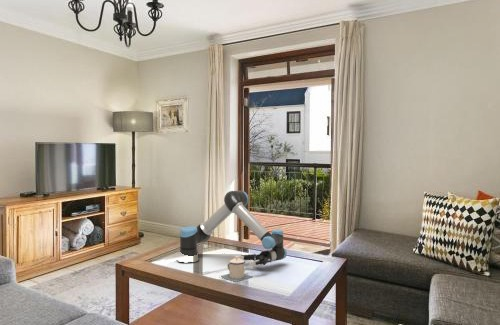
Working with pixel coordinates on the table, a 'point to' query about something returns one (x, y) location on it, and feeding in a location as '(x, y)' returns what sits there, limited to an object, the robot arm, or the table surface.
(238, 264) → the teacup with lid
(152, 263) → the table surface
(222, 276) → the mat
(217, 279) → the table surface
